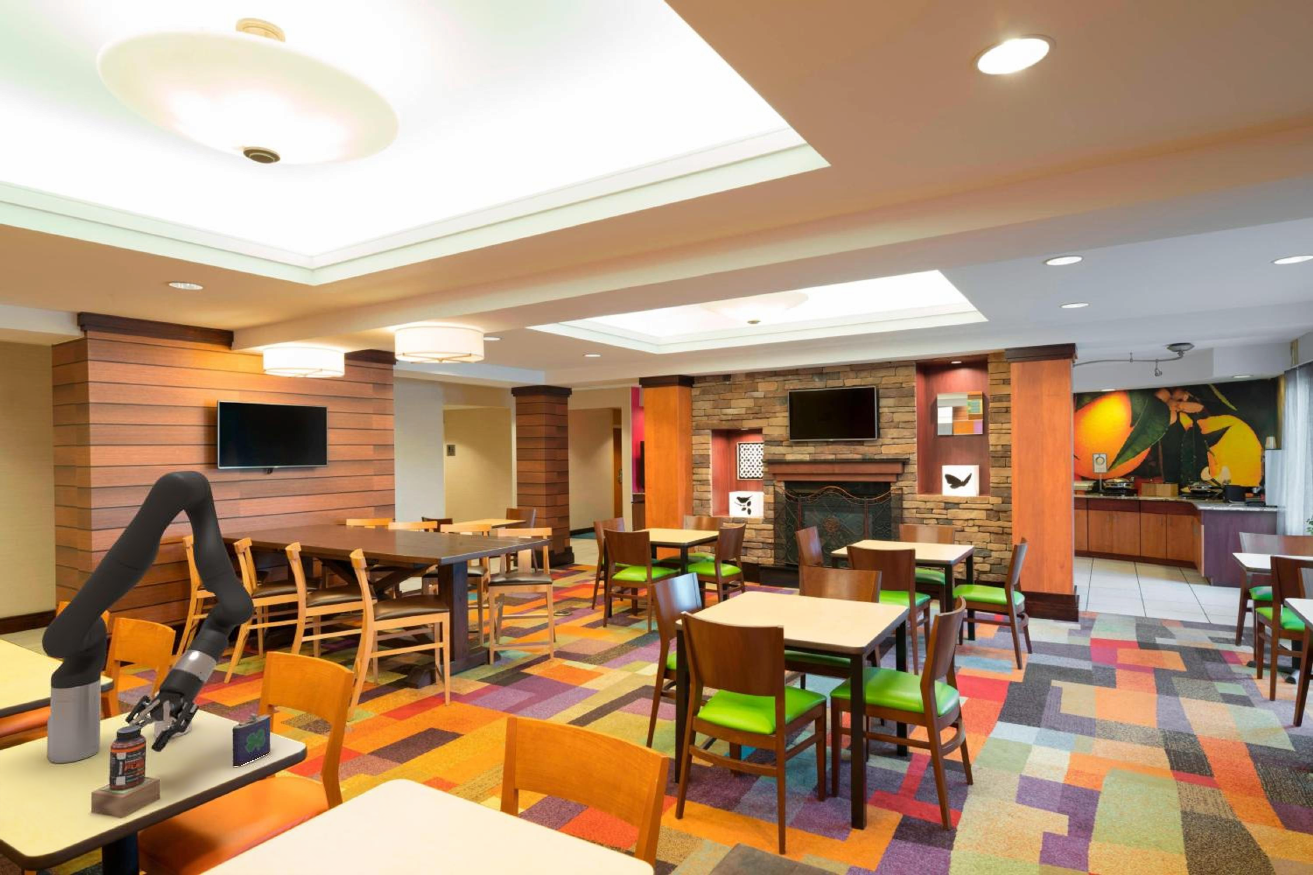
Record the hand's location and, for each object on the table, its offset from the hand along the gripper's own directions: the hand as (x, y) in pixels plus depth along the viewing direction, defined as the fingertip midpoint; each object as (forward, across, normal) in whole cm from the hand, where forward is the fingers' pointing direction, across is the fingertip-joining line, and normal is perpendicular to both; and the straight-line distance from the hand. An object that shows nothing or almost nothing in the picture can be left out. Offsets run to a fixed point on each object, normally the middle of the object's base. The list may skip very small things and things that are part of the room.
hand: (139, 747), depth 148 cm
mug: (-12, -22, +27) cm, 37 cm away
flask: (-8, +8, +23) cm, 25 cm away
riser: (+9, 0, +6) cm, 11 cm away
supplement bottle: (+6, 0, +3) cm, 7 cm away
